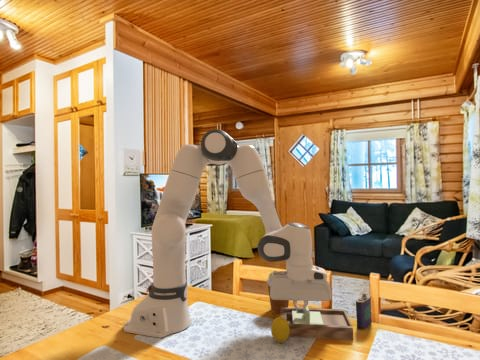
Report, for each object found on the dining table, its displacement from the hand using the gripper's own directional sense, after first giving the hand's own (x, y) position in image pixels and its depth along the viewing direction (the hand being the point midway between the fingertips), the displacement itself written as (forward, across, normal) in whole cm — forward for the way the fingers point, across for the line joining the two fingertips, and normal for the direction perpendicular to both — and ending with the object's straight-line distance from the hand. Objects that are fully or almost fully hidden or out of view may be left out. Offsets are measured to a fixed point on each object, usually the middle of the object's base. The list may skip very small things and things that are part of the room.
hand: (300, 312), depth 102 cm
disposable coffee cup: (+5, -7, +13) cm, 15 cm away
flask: (+5, +21, +3) cm, 22 cm away
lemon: (+5, -7, -11) cm, 14 cm away
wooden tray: (+5, +4, 0) cm, 6 cm away
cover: (+2, +2, 0) cm, 3 cm away
